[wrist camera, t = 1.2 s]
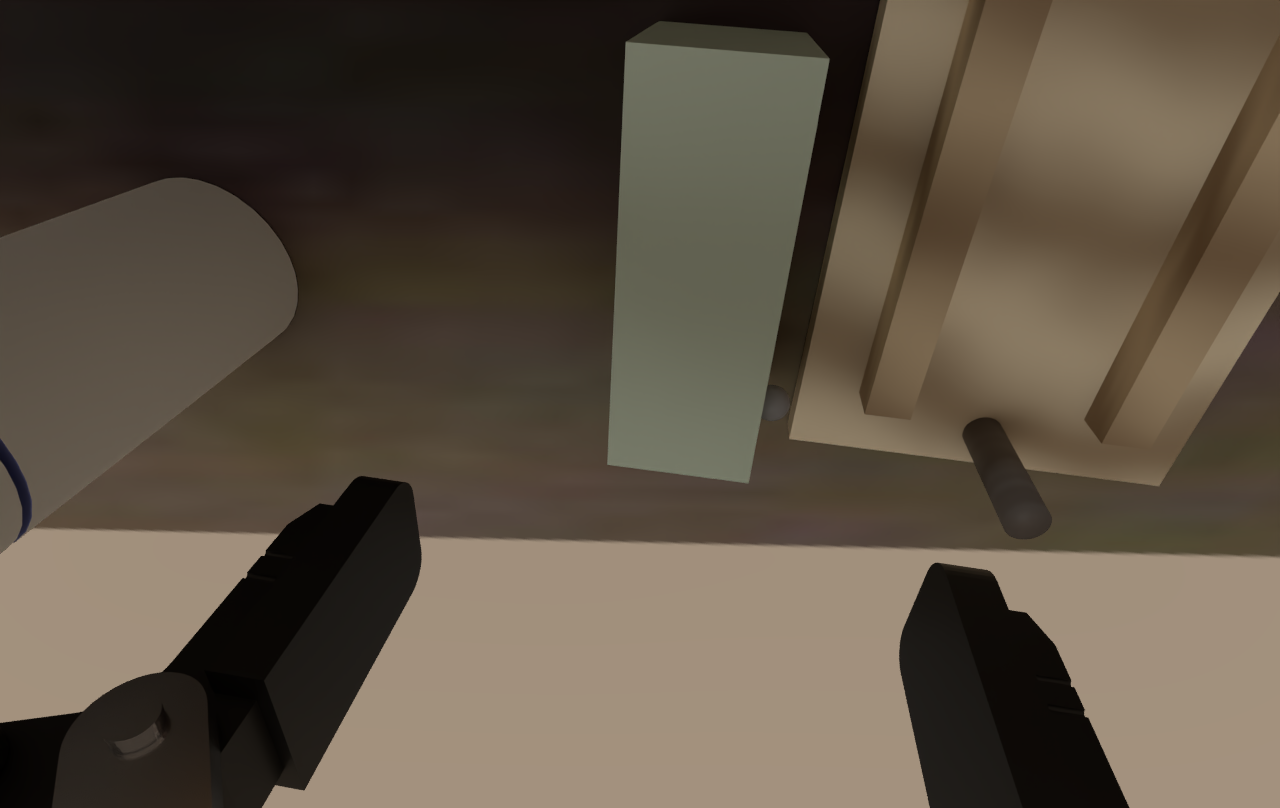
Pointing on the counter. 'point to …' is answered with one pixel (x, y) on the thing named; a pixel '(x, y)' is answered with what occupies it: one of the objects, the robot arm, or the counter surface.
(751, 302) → the rectangular block
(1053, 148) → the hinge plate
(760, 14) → the counter surface
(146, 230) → the cylindrical container
